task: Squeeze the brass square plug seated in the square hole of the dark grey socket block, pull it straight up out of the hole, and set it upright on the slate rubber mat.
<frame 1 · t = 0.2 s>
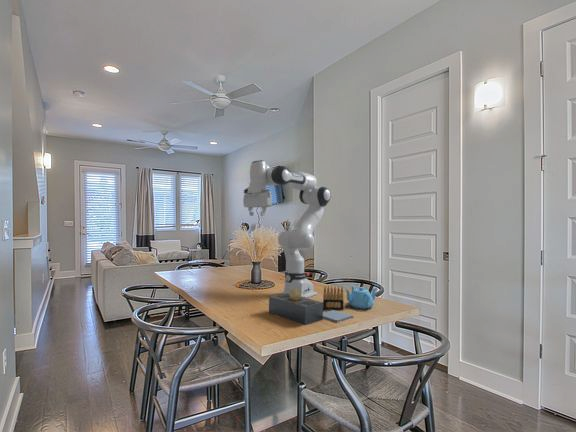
hand: (257, 215, 174), 48 cm above the table, tool pointing down, fingers open, 8 cm apart
dark grey socket block: (294, 316, 153), on the table
slate mat: (335, 317, 153), on the table
teapot: (359, 306, 175), on the table
ammunition clip: (333, 309, 167), on the table
brass plug: (295, 306, 153), point 4 cm above the table, touching dark grey socket block
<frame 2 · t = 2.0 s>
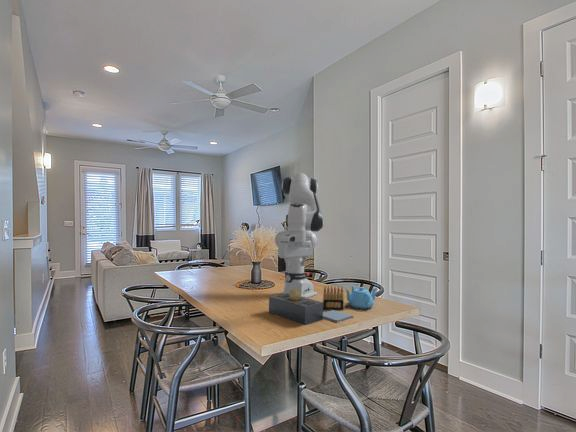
hand: (295, 266, 153), 23 cm above the table, tool pointing down, fingers open, 8 cm apart
nothing on the table moved.
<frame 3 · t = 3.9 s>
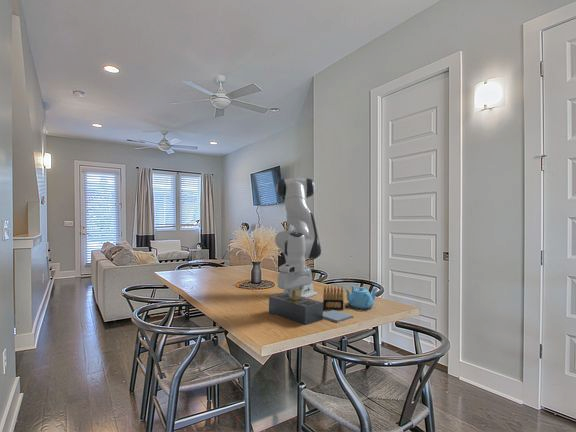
hand: (295, 296, 153), 10 cm above the table, tool pointing down, fingers closed on brass plug, 4 cm apart
brass plug: (295, 306, 153), point 5 cm above the table, touching gripper, dark grey socket block
everything else where it was.
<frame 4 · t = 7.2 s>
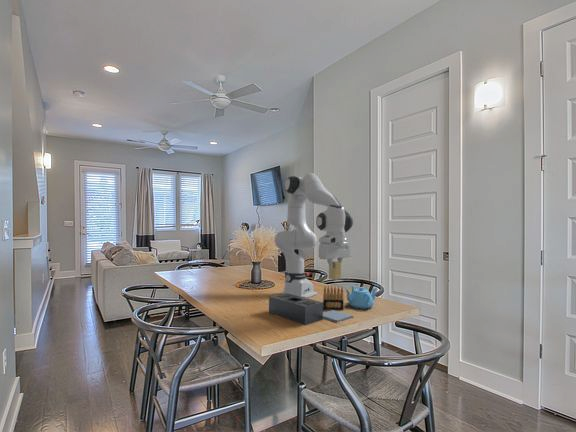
hand: (334, 267, 153), 23 cm above the table, tool pointing down, fingers closed on brass plug, 4 cm apart
brass plug: (334, 278, 153), point 18 cm above the table, touching gripper
everything else where it was.
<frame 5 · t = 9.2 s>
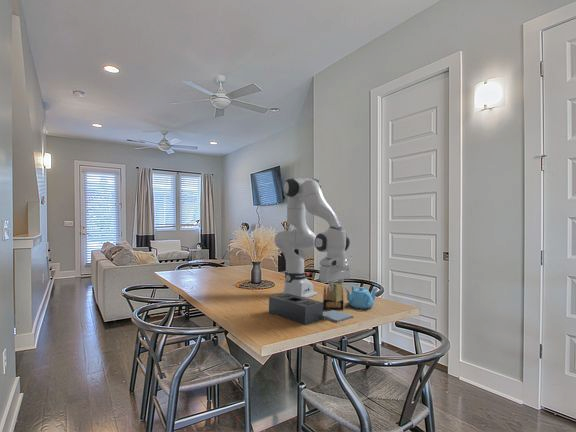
hand: (335, 289, 153), 13 cm above the table, tool pointing down, fingers closed on brass plug, 4 cm apart
brass plug: (335, 300, 153), point 8 cm above the table, touching gripper
everything else where it was.
when the fingers open (8 cm above the table, at t = 10.6 s): brass plug drops 1 cm, resting on slate mat.
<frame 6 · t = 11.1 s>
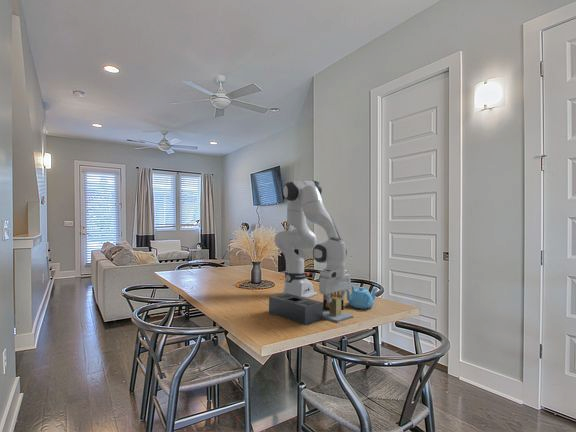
hand: (335, 301, 153), 8 cm above the table, tool pointing down, fingers open, 8 cm apart
brass plug: (335, 314, 153), point 1 cm above the table, touching slate mat
everything else where it was.
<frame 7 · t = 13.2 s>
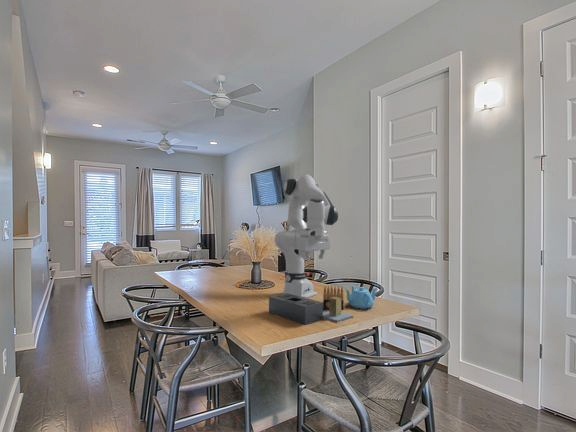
hand: (314, 259, 159), 26 cm above the table, tool pointing down, fingers open, 8 cm apart
nothing on the table moved.
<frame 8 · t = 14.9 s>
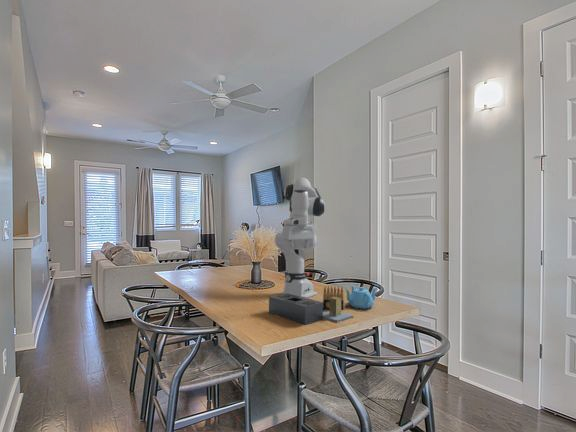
hand: (299, 248, 163), 31 cm above the table, tool pointing down, fingers open, 8 cm apart
nothing on the table moved.
at the end: brass plug inside the target area on the slate mat (0.0 cm from its centre), point 1.0 cm above the slate mat's base; brass plug tilted 0°; the gripper is holding nothing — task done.
